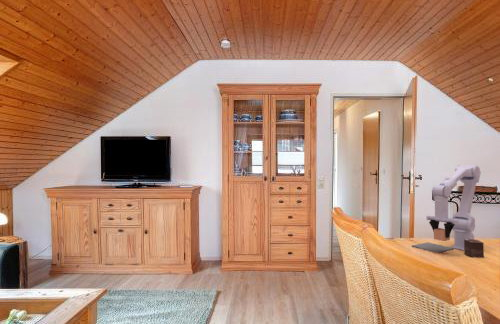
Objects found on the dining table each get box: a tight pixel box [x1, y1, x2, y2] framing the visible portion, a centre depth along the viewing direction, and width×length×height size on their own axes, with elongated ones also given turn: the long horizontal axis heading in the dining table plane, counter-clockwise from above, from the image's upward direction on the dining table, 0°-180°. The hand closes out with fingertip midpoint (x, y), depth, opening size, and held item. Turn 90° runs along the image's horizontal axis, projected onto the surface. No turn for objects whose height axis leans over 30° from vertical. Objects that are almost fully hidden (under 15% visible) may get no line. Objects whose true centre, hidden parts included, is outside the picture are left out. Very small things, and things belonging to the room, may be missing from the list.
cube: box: [433, 227, 451, 242], centre depth 158 cm, size 5×5×5 cm
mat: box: [411, 242, 455, 254], centre depth 167 cm, size 14×14×1 cm
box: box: [463, 239, 485, 258], centre depth 153 cm, size 6×6×7 cm
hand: (441, 236), depth 158 cm, fingers closed on cube, 5 cm apart
